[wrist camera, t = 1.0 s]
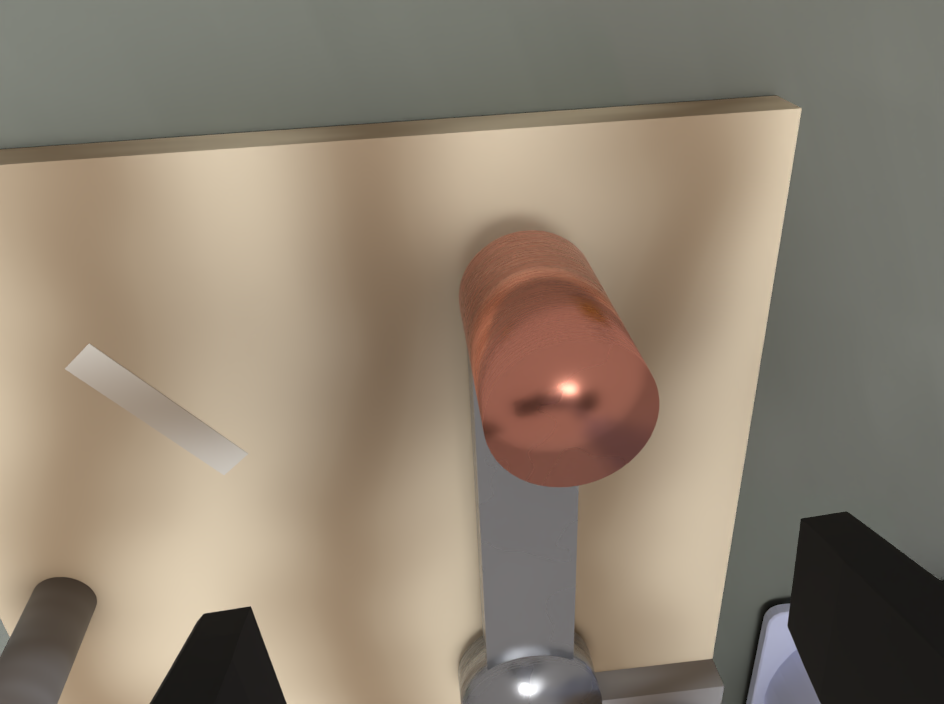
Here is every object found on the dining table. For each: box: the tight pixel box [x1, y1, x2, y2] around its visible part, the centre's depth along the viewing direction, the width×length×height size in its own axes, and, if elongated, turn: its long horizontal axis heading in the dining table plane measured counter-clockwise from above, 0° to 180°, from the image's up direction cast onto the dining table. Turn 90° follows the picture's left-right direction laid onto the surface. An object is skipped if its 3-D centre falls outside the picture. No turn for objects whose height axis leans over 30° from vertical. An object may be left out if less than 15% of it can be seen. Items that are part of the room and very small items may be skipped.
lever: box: [458, 230, 659, 704], centre depth 18 cm, size 16×4×6 cm, turn 3°
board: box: [0, 96, 802, 704], centre depth 20 cm, size 20×22×5 cm
